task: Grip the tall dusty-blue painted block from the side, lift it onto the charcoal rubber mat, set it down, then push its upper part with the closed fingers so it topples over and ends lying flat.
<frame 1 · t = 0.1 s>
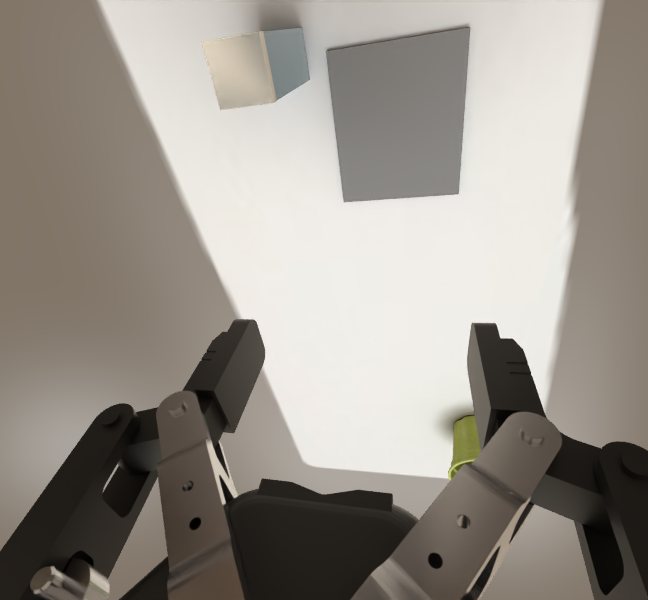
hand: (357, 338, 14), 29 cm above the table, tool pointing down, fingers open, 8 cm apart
plant pot: (473, 425, 61), on the table
blue block: (285, 57, 34), on the table
mat: (397, 126, 36), on the table
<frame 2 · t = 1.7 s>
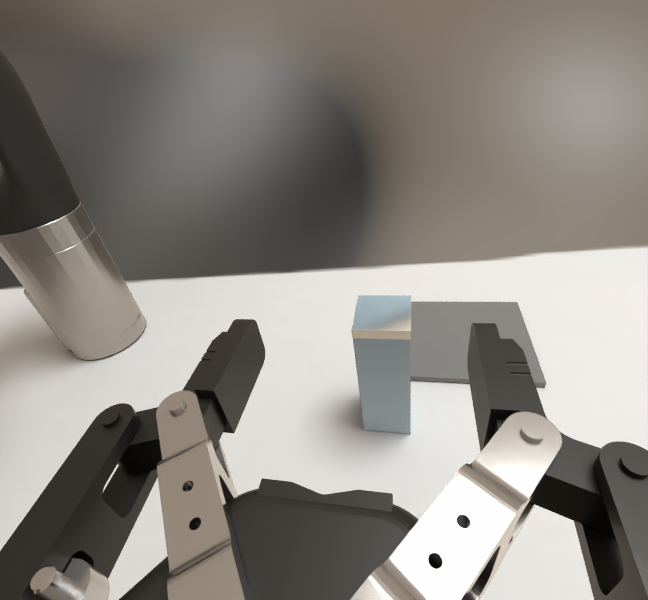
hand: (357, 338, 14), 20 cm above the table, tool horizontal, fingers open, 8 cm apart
blue block: (388, 412, 34), on the table
mat: (457, 339, 40), on the table
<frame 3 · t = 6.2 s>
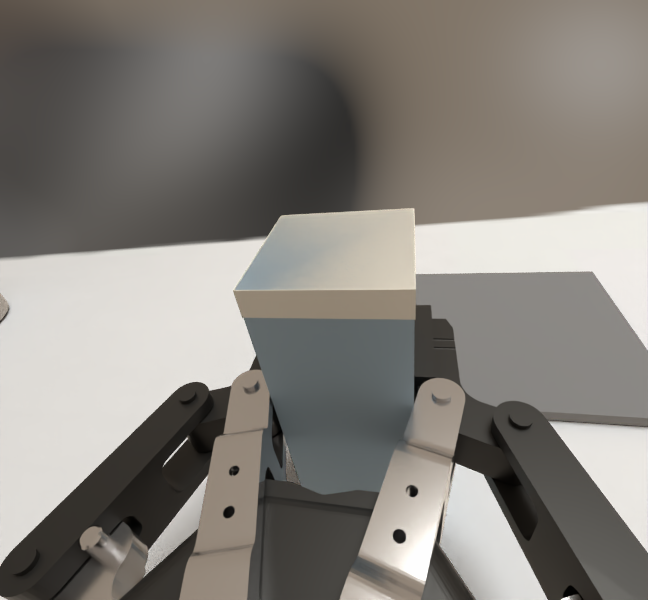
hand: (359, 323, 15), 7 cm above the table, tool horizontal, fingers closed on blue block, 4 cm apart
blue block: (366, 482, 17), on the table, touching gripper
mat: (496, 334, 23), on the table
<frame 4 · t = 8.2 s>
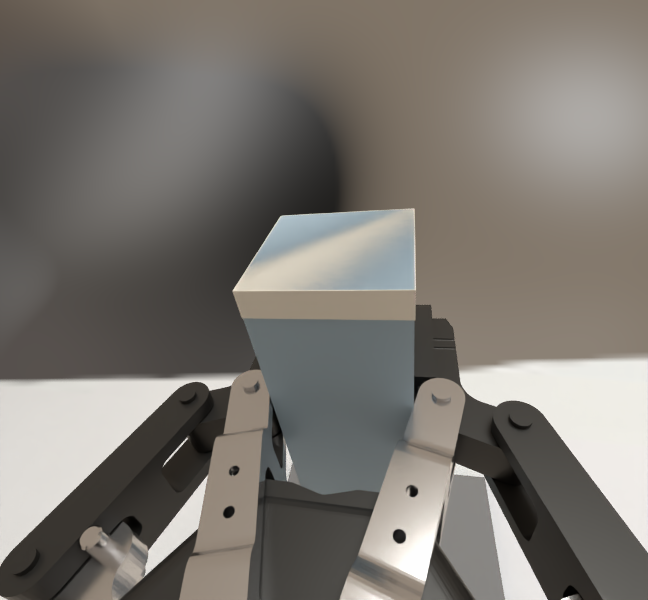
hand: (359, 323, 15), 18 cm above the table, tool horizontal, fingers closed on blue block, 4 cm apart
blue block: (366, 483, 17), point 11 cm above the table, touching gripper
mat: (379, 564, 23), on the table
when the fingers open (9 cm above the table, at t = 10.3 s): blue block stays where it is, resting on mat.
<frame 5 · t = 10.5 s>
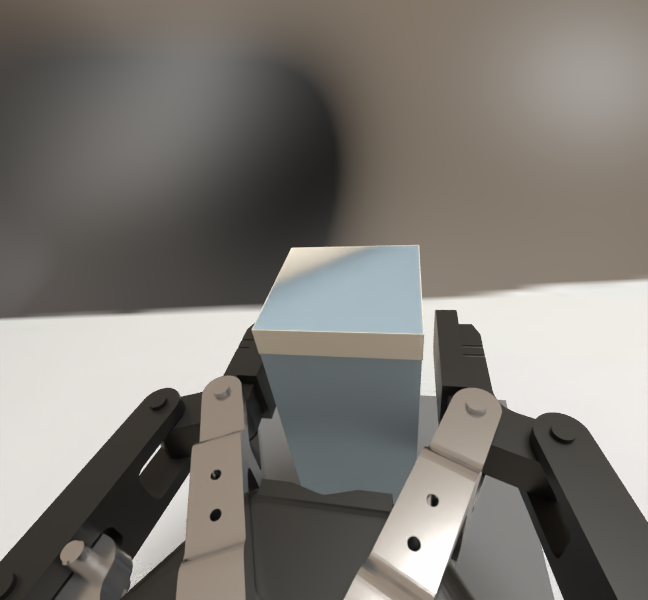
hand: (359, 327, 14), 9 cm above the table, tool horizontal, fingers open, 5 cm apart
blue block: (367, 496, 17), point 1 cm above the table, touching mat
mat: (368, 502, 18), on the table
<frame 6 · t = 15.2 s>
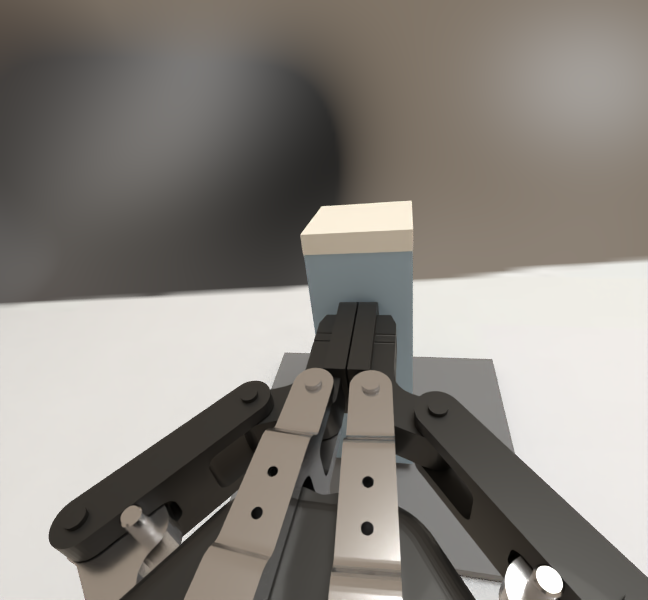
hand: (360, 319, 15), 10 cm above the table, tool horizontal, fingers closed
blue block: (374, 429, 20), point 1 cm above the table, tilted 8°, touching gripper, mat
mat: (376, 439, 21), on the table
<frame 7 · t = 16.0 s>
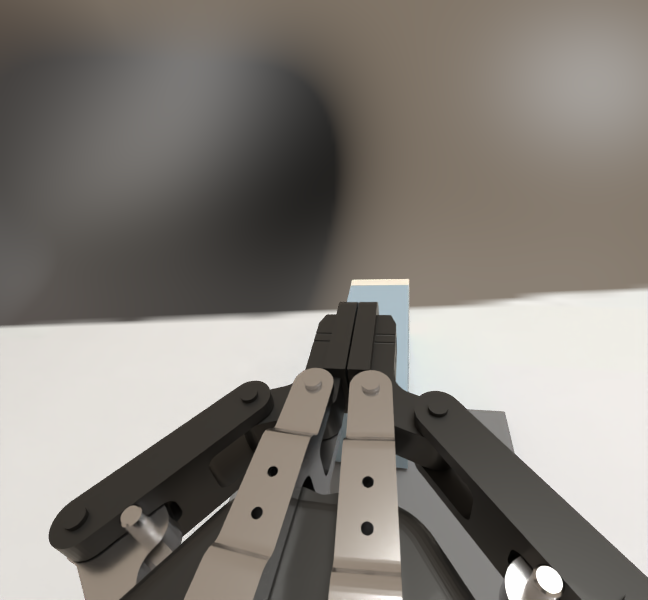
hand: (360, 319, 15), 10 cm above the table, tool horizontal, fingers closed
blue block: (364, 439, 18), point 3 cm above the table, tilted 94°, touching mat
mat: (369, 513, 18), on the table
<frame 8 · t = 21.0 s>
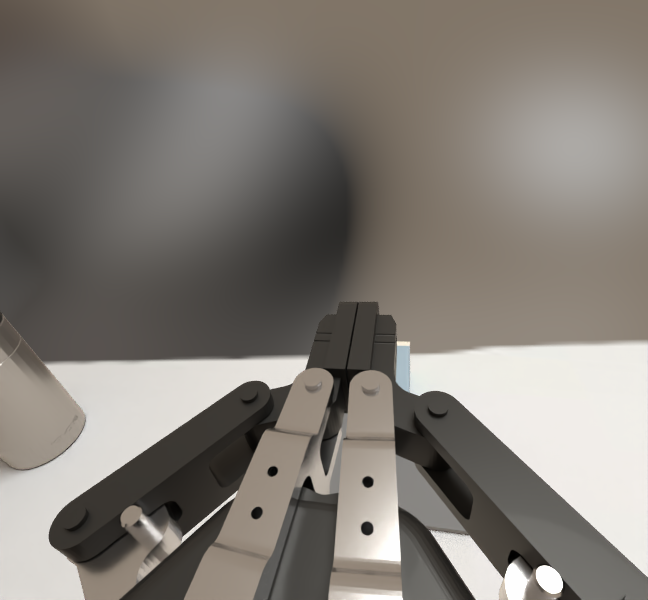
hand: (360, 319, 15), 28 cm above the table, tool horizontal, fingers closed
blue block: (389, 428, 39), point 3 cm above the table, tilted 94°, touching mat
mat: (391, 462, 39), on the table
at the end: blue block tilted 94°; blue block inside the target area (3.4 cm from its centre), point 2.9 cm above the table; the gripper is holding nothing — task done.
